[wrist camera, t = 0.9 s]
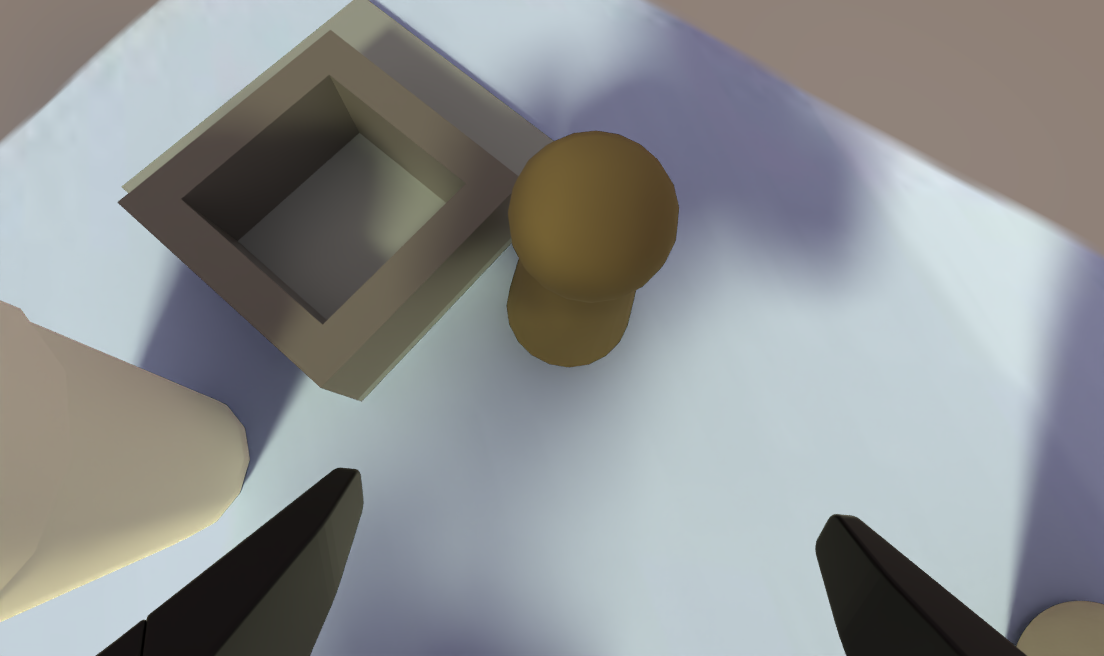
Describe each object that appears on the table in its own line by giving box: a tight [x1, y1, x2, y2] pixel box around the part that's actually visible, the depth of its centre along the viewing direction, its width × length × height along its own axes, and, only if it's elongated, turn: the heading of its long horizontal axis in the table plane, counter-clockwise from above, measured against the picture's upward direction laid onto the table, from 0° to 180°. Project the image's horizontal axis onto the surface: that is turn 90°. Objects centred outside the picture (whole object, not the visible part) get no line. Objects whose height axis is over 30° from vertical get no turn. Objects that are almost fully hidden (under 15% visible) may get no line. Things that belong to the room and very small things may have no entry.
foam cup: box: [0, 301, 250, 622], centre depth 15 cm, size 10×9×13 cm
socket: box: [117, 0, 554, 402], centre depth 23 cm, size 16×16×5 cm
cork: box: [507, 131, 679, 367], centre depth 19 cm, size 6×6×11 cm
